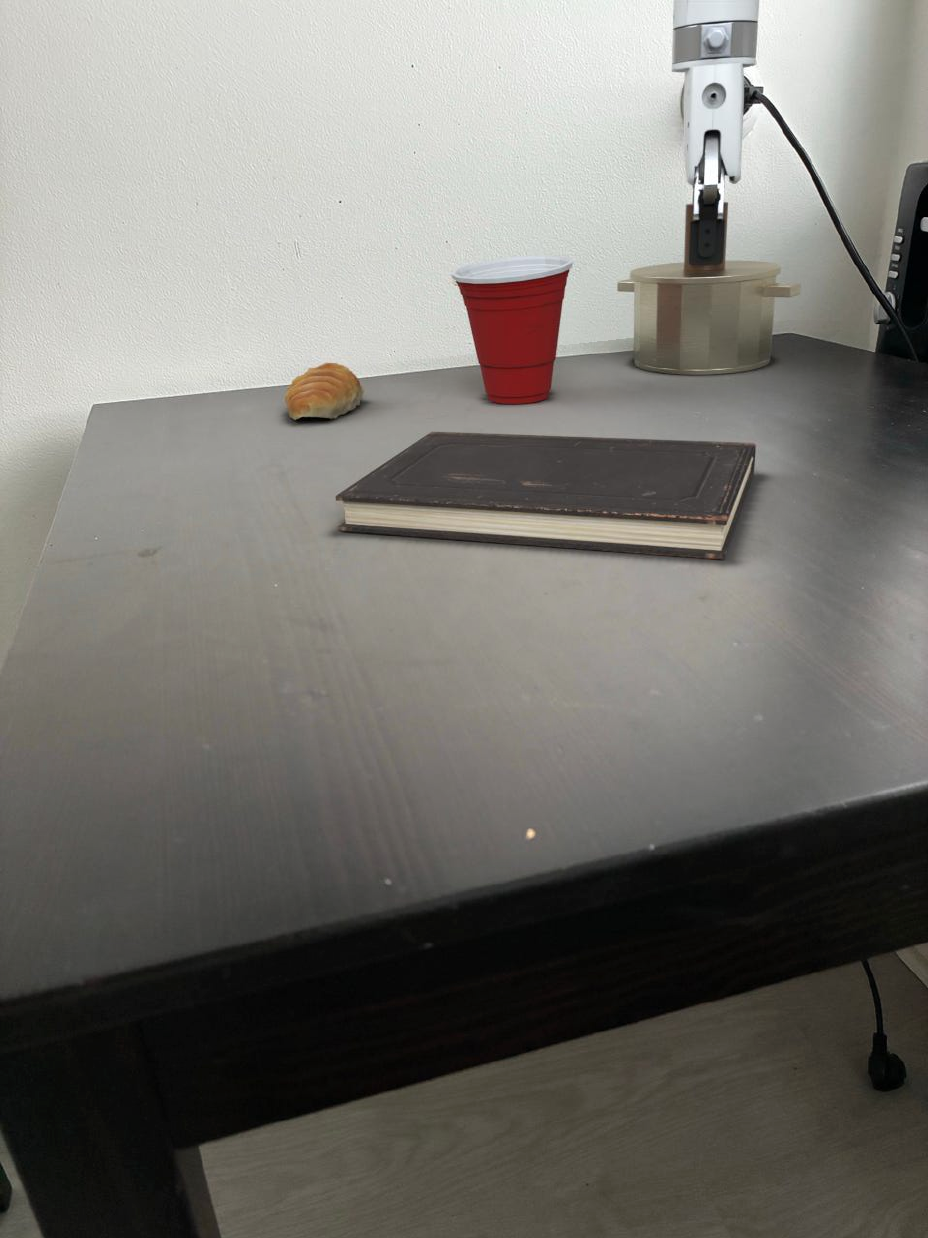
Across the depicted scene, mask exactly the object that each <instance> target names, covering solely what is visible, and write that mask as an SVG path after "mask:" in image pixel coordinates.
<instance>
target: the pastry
mask: <svg viewBox="0 0 928 1238" xmlns="http://www.w3.org/2000/svg"><path fill="white" fill-rule="evenodd" d="M364 394H365V387H364V386H363V385H362V384H361V382H360V380H359V378H358V377H357V376H356V375H355V374H354V373H353V371H351V369H349V367H347V366H345V365H343V364H339V363H337V362H325V363H322V364H319V365H318V366H316V367H308V369H307V371H305V372H304V374H301V375H298V376H296V377H295V378H294V379H293V380H292V381H291V384H290V385H289V387H288V388H287V390H286V393H285V396H284V398H285V399H284V400H285V402H286V409H287V412H288V416H289V417H290V419H293V420H294V421H296V420H299V419H300V418H302V417H303V418H308V417H309V418H325V419H330V420H333V419H334V420H335V419H338V417H339V416H341V415H346V414H348V413H349V412H352V411H353V410H355V409H356V408H357V406H360V405H361V400H362V398H363V396H364Z"/></svg>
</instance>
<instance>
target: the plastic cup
mask: <svg viewBox="0 0 928 1238" xmlns="http://www.w3.org/2000/svg"><path fill="white" fill-rule="evenodd" d="M573 263H574V257H570V256H566V255H561V254H527V255H516V256H506V257H500V258H494V259H487V260H482V261H478V262H473V263H470V264H465V265H463V266H460V267H458V268H455V269H454V270H453V271H452V272H451V274H450V276H451V278H452V280H454V281H455V283H456V284H457V287H458V289H459V292H460V295H461V296H462V301H463V305H464V307H465V310H466V313H467V318H468V322H469V326H470V331H471V335H472V339H473V344H474V349H475V354H476V358H477V362H478V364H479V367H480V371H481V376H482V381H483V387H484V391H485V393H486V395H487V400H488V401H490V402H491V403H496V404H501V405H502V404H503V405H506V404H507V405H522V404H530V403H537V402H540V401H541V402H542V401H544V400H547V399H548V398H549V397H550V391H551V390H552V382H553V373H554V366H555V361H556V358H557V349H558V343H559V335H560V325H561V317H562V312H563V311H562V310H563V304H564V303H563V302H564V300H565V294H566V292H565V291H566V287H567V282H568V277H569V273H570V270H571V269H572V268H573Z"/></svg>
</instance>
